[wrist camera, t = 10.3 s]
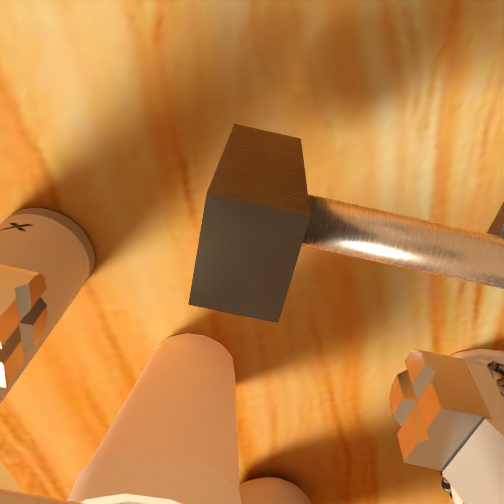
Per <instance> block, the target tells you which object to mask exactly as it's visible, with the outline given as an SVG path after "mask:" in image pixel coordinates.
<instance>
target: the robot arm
mask: <svg viewBox="0 0 504 504" xmlns="http://www.w3.org/2000/svg"><path fill="white" fill-rule="evenodd" d="M45 290H46V283H45V276H43V275H42V274H41V273H37V272H33V271H28V270H24V269H20V268H15V267H11V266H6V265H2V264H0V387H4V388H7V387H8V385H9V384H10V382H11V381H12V379H13V378H14V377H15V375H16V374H17V372H18V371H19V369H20V368H21V366H22V365H23V364H24V359H23V353H24V352H26V351H28V350H30V349H32V348H34V347H35V346H36V344H37V343H38V341H39V340H40V338H41V336H42V334H43V331H44V329H45V326H46V322H47V315H48V310H47V304H46V303H45V302H44V300H43V299H42V298H41V295H42V294H43V293H44V291H45ZM405 363H406V366H407V370H405V371H403V372H402V373H400V374H398V375H397V376H396V378H395V380H394V382H393V384H392V388H391V393H390V408H391V412H392V416H393V418H394V419H395V420H396V421H397V422H398V423H399V424H400V426H401V428H400V430H399V432H398V433H397V437H398V441H399V445H400V449H401V453H402V457H403V461H404V463H407V464H412V465H417V466H421V467H426V468H430V469H435V470H440V471H443V472H442V474H443V475H444V477H445V478H446V479H447V481H448V482H449V483H450V485H451V486H452V487H453V489H454V490H455V491H456V493H457V494H458V496H459V497H460V498H461V500H462V501H463V502H464V504H504V398H503V396H502V395H501V393H500V391H499V389H498V387H497V385H496V383H495V381H494V379H493V377H492V375H491V374H490V372H489V370H488V368H487V366H486V365H485V364H484V363H482V362H481V361H476V360H470V359H465V358H456V357H452V356H447V355H442V354H437V353H431V352H426V351H421V350H416V349H414V350H413V351H412V352H411V353H409V355H408V357H407V359H406V360H405ZM0 504H84V503H78V502H72V501H67V500H61V499H55V498H49V497H44V496H38V495H32V494H27V493H21V492H15V491H10V490H4V489H0Z"/></svg>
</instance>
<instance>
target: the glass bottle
mask: <svg viewBox="0 0 504 504" xmlns="http://www.w3.org/2000/svg"><path fill="white" fill-rule="evenodd" d="M239 490H240V497H241V502H242V504H312V503H311V501H310V499H309V498H308V497H307V495H306V494H305V493H304V492H303V491H302V490H301V489H300V488H298V487H297V486H296V485H295V484H293V483H290V482H288V481H286V480H283V479H281V478H274V477H262V478H257V479H252V480H249V481H246V482H244V483H242V484H240V485H239Z"/></svg>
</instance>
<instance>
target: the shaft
mask: <svg viewBox="0 0 504 504" xmlns="http://www.w3.org/2000/svg"><path fill="white" fill-rule="evenodd" d="M301 246H304V247H309V248H313V249H318V250H323V251H328V252H332V253H337V254H342V255H346V256H351V257H356V258H361V259H365V260H370V261H375V262H379V263H384V264H389V265H394V266H398V267H403V268H408V269H412V270H417V271H422V272H427V273H431V274H436V275H441V276H445V277H450V278H455V279H460V280H464V281H469V282H474V283H478V284H483V285H488V286H493V287H497V288H502V289H504V237H502V236H497V235H492V234H488V233H483V232H479V231H474V230H470V229H465V228H460V227H456V226H451V225H447V224H442V223H437V222H433V221H428V220H424V219H419V218H415V217H410V216H405V215H401V214H396V213H392V212H387V211H382V210H378V209H373V208H369V207H364V206H359V205H355V204H350V203H346V202H341V201H337V200H332V199H327V198H323V197H318V196H314V195H309V194H308V192H307V184H306V176H305V168H304V160H303V152H302V144H301V139H299V138H295V137H291V136H286V135H282V134H277V133H273V132H268V131H264V130H259V129H255V128H250V127H246V126H241V125H237V124H234V127H233V129H232V132H231V134H230V137H229V139H228V142H227V144H226V147H225V149H224V152H223V154H222V157H221V159H220V162H219V164H218V167H217V169H216V172H215V174H214V177H213V179H212V182H211V184H210V187H209V189H208V192H207V195H206V201H205V207H204V213H203V219H202V225H201V232H200V238H199V244H198V250H197V256H196V262H195V268H194V274H193V280H192V286H191V293H190V299H189V305H193V306H198V307H203V308H208V309H213V310H217V311H222V312H227V313H232V314H237V315H242V316H247V317H252V318H257V319H262V320H267V321H272V322H277V323H278V321H279V318H280V314H281V311H282V308H283V304H284V301H285V298H286V294H287V291H288V288H289V285H290V281H291V278H292V275H293V271H294V268H295V265H296V262H297V258H298V255H299V252H300V248H301Z"/></svg>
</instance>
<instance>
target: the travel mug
mask: <svg viewBox="0 0 504 504" xmlns="http://www.w3.org/2000/svg"><path fill="white" fill-rule="evenodd" d="M0 264H2V265H6V266H11V267H15V268H20V269H24V270H28V271H33V272H37V273H41V274H42V275H43V276H45V283H46V290H45V291H44V293H43V294H42V295H41V298H42V299H43V300H44V302H45V303H46V304H47V310H48V315H47V322H46V326H45V329H44V331H43V334H42V336H41V338H40V340H39V341H38V343H37V344H36V346H35V347H34V348H32V349H30V350H28V351H26V352H24V353H23V359H24V364H23V365H22V366H21V368H20V369H19V371H18V372H17V374H16V375H15V377H14V378H13V379H12V381H11V382H10V384H9V385H8V387H7V388H4V387H0V403H1V402H2V400H3V399H4V398H5V396H6V395H7V393H8V392H9V391H10V389H11V388H12V386H13V385H14V383H15V382H16V381H17V379H18V378H19V376H20V375H21V374H22V372H23V371H24V369H25V368H26V366H27V365H28V364H29V362H30V361H31V359H32V358H33V356H34V355H35V354H36V352H37V351H38V349H39V348H40V347H41V345H42V344H43V342H44V341H45V339H46V338H47V337H48V335H49V334H50V332H51V331H52V330H53V328H54V327H55V325H56V324H57V322H58V321H59V320H60V318H61V317H62V315H63V314H64V313H65V311H66V310H67V308H68V307H69V305H70V304H71V303H72V301H73V300H74V298H75V297H76V295H77V294H78V293H79V291H80V290H81V288H82V287H83V286H84V284H85V283H86V281H87V280H88V278H89V277H90V275H91V273H92V271H93V269H94V264H95V254H94V250H93V246H92V244H91V242H90V240H89V238H88V237H87V235H86V234H85V232H84V231H83V230H82V229H81V228H80V227H79V226H78V225H77V224H76V223H75V222H74V221H72V220H71V219H70V218H68V217H66V216H64V215H62V214H61V213H58V212H55V211H53V210H50V209H44V208H27V209H22V210H19V211H17V212H15V213H13V214H12V215H11V216H9V217H8V218H7V219H6V220H4V221H3V222H2V223H1V224H0Z"/></svg>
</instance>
